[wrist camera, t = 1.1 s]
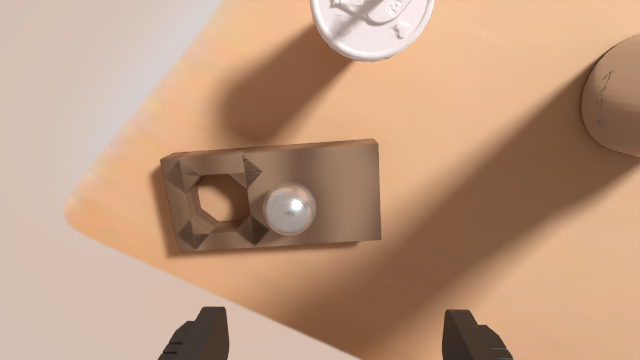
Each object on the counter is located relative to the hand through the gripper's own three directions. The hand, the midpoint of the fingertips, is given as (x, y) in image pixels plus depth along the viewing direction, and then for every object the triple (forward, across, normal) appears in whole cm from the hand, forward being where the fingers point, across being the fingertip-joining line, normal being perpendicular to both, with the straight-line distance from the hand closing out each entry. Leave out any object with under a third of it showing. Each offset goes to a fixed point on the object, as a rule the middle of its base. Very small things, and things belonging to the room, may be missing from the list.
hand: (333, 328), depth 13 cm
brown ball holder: (+18, +5, +1) cm, 19 cm away
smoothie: (+19, -2, -13) cm, 23 cm away
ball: (+14, +3, +1) cm, 14 cm away
